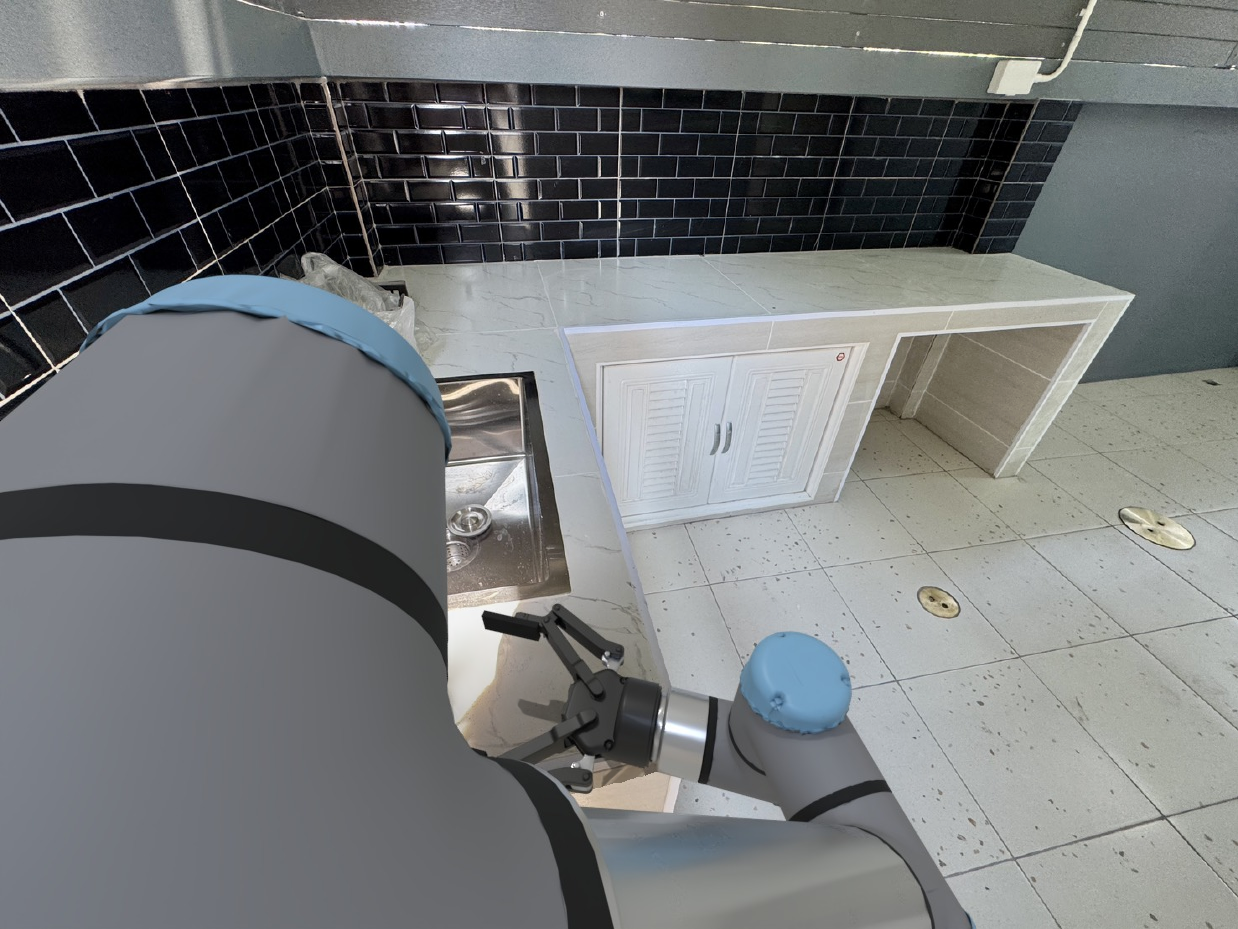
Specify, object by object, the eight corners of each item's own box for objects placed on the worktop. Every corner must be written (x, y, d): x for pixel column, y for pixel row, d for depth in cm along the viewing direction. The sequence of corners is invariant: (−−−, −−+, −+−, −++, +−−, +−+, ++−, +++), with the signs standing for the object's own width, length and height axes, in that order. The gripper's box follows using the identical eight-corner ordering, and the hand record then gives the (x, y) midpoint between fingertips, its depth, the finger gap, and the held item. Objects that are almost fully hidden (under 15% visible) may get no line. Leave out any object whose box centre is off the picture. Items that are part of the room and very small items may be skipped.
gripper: (629, 898, 42) (398, 826, 45) (674, 635, 60) (508, 598, 64) (632, 875, 37) (374, 797, 40) (679, 597, 56) (500, 560, 59)
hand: (455, 675), depth 52 cm, fingers open, 13 cm apart
